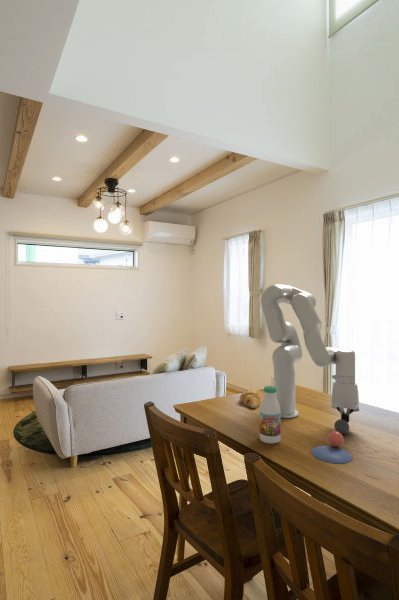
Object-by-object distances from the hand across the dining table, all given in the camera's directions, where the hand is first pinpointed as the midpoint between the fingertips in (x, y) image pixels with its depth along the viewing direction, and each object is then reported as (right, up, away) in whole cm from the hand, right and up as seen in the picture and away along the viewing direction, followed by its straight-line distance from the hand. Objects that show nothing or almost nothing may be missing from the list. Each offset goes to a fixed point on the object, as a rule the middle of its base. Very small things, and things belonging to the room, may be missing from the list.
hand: (345, 423), depth 144 cm
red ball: (-11, +1, -19) cm, 22 cm away
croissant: (-35, -2, +33) cm, 48 cm away
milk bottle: (-34, -2, -13) cm, 36 cm away
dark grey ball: (-4, +1, -7) cm, 8 cm away
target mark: (-15, -2, -25) cm, 30 cm away
